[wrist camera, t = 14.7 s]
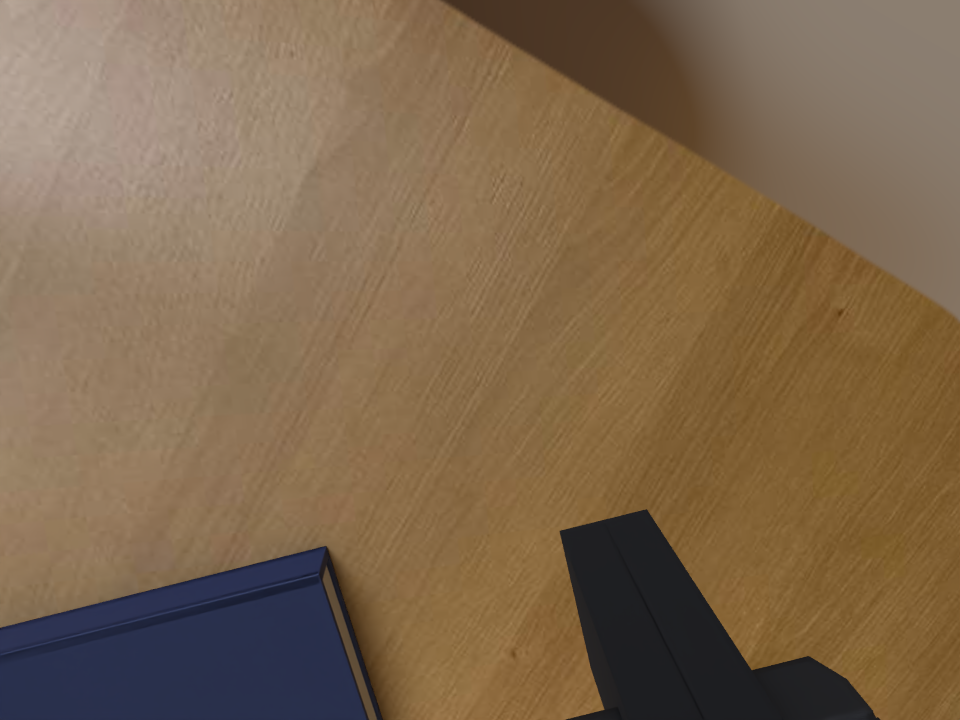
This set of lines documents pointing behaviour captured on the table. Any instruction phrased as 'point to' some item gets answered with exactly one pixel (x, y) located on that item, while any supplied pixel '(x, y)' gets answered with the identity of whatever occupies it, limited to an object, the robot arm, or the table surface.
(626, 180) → the table surface
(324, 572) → the book
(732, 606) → the table surface
